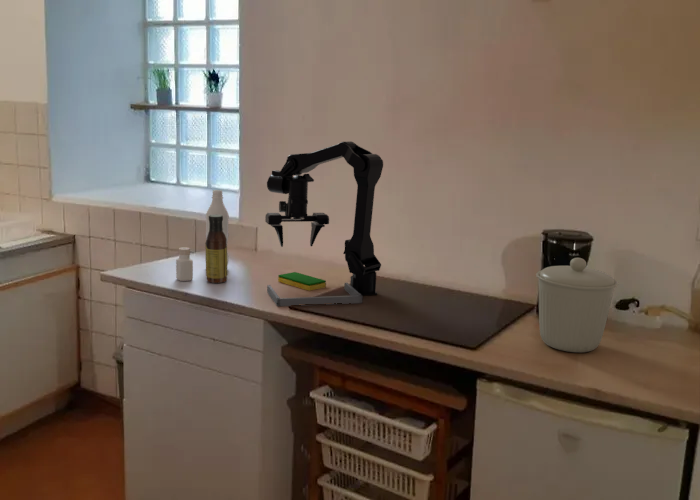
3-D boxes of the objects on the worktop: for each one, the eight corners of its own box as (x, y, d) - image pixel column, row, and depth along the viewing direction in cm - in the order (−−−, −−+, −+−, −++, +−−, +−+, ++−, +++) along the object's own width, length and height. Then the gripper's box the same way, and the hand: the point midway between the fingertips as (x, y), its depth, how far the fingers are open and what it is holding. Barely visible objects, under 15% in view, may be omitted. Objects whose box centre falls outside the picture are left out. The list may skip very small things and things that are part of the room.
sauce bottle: (217, 277, 217) (217, 212, 213) (231, 281, 213) (232, 215, 209) (200, 281, 211) (200, 214, 207) (215, 285, 208) (216, 217, 204)
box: (346, 289, 210) (347, 282, 210) (362, 303, 196) (362, 296, 196) (267, 291, 203) (267, 285, 203) (277, 306, 189) (277, 299, 189)
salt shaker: (193, 280, 212) (193, 249, 210) (180, 282, 210) (180, 250, 208) (188, 277, 215) (188, 246, 213) (175, 279, 213) (175, 247, 211)
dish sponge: (308, 292, 207) (309, 284, 206) (277, 282, 216) (277, 274, 215) (326, 288, 212) (326, 280, 211) (295, 279, 221) (295, 271, 220)
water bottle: (209, 265, 232) (210, 188, 227) (231, 267, 231) (232, 189, 226) (202, 270, 225) (202, 191, 220) (224, 272, 224) (225, 192, 219)
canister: (563, 362, 157) (574, 268, 152) (514, 337, 173) (522, 251, 169) (627, 354, 164) (638, 264, 160) (573, 330, 180) (582, 248, 176)
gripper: (321, 192, 227) (319, 240, 230) (262, 192, 221) (261, 241, 224) (330, 197, 216) (328, 247, 219) (269, 197, 211) (268, 249, 214)
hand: (296, 246), depth 220 cm, fingers open, 9 cm apart
